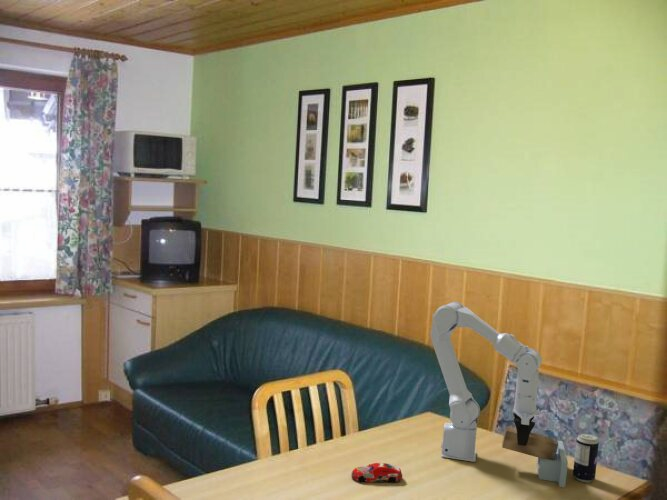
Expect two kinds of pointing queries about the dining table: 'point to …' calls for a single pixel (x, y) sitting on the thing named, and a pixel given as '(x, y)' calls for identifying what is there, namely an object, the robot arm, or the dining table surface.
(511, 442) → the brown wooden block
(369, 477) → the race car
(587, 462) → the beverage can
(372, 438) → the dining table surface
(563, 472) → the pale blue bench
